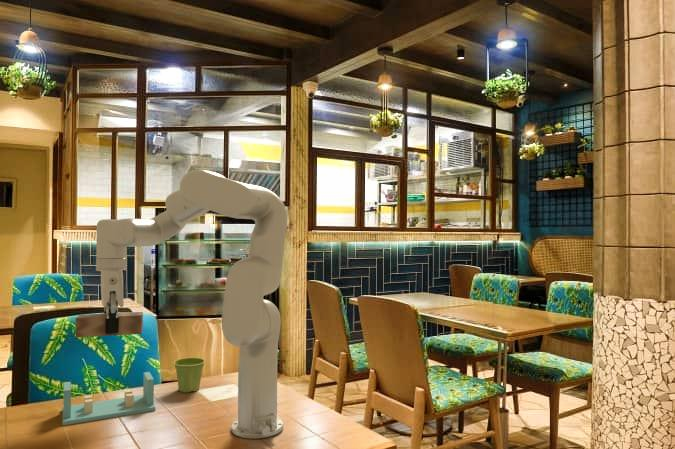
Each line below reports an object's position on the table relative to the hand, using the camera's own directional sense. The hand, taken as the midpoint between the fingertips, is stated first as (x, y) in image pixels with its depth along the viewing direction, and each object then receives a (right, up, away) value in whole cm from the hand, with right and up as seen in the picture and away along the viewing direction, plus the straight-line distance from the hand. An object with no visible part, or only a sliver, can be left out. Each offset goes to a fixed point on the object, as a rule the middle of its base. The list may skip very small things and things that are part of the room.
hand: (110, 330), depth 134 cm
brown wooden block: (0, -1, 0) cm, 1 cm away
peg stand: (0, -22, 0) cm, 22 cm away
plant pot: (+16, -22, +18) cm, 33 cm away
